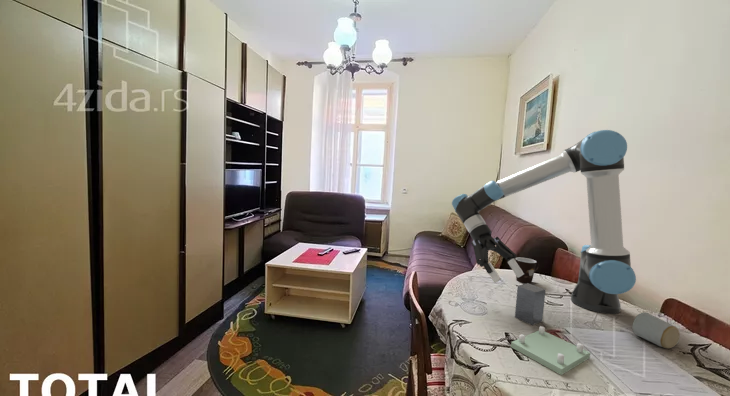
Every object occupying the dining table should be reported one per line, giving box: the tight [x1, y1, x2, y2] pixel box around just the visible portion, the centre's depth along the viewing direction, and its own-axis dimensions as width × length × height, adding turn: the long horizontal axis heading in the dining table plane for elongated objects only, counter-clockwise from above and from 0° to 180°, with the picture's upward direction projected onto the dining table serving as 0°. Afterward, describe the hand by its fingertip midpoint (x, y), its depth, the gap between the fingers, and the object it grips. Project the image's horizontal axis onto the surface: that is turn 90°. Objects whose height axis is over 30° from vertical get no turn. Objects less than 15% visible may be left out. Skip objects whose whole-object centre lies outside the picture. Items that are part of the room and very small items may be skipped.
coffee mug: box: [515, 257, 540, 284], centre depth 138 cm, size 12×9×10 cm
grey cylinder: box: [632, 311, 681, 349], centre depth 90 cm, size 11×8×8 cm
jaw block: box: [514, 283, 547, 326], centre depth 100 cm, size 6×6×11 cm
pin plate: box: [510, 325, 591, 376], centre depth 81 cm, size 15×13×4 cm
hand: (509, 278), depth 106 cm, fingers open, 13 cm apart
